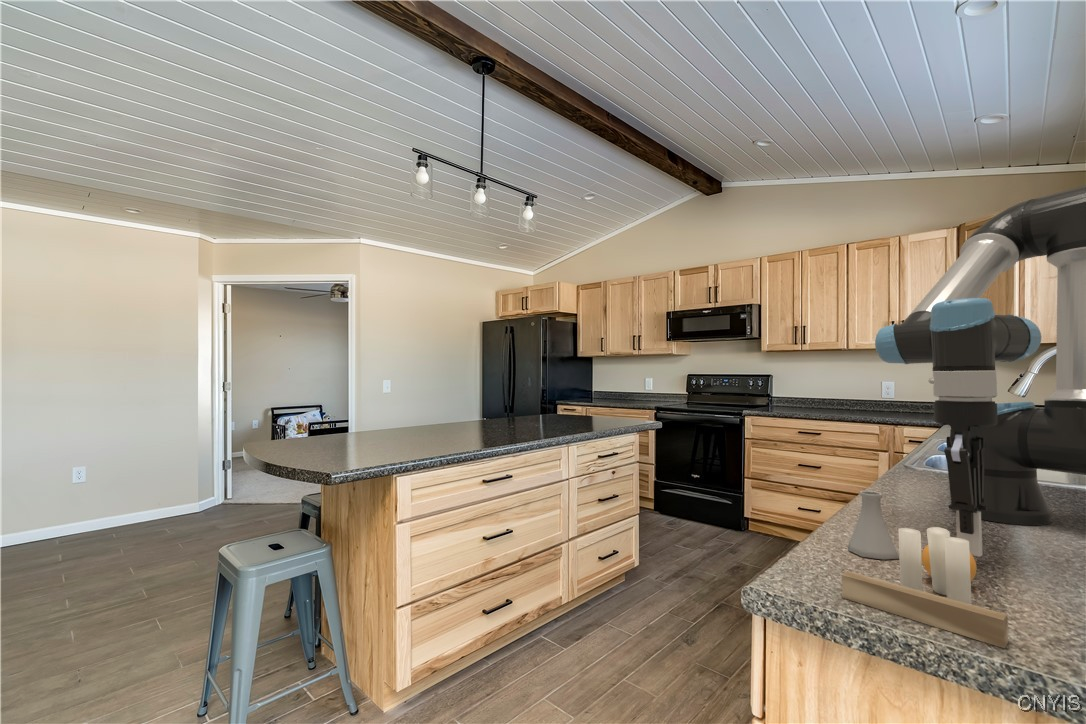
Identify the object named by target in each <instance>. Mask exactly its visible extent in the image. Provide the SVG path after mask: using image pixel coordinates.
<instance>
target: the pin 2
mask: <svg viewBox="0 0 1086 724" xmlns="http://www.w3.org/2000/svg"><path fill="white" fill-rule="evenodd" d="M945 565H946V592H947V595H946V598H949V599H952V600H956V601H960V602H963V603H967V604H971V605H972V583H971V581H972V580H971V578H970V552H969V541H967V540H965V539H961V538H957V536H955V537H954V536H950V537H945Z"/></svg>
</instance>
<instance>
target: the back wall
mask: <svg viewBox="0 0 1086 724" xmlns="http://www.w3.org/2000/svg"><path fill="white" fill-rule="evenodd" d="M841 591H842V593H841V594H842V595H841V598H842V599H846V600H848V601H852V602H854V603H859V604H861V605H865V606H867V607H871V608H873V609H878V610H879V611H880V610H881V611H883V612H887V613H890V614H893V615H897V616H900V617H903V618H906V619H910V620H913V621H916V622H919V623H922V624H924V625H925V624H926V625H928V626H932V627H935V628H938V629H941V630H945V631H949V632H951V633H954V634H957V635H960V636H962V637H963V636H964V637H968V638H970V639H974V640H977V641H980V642H983V643H987V644H989V645H992V646H996V647H999V648H1002V649H1006V647H1007V645H1008V644H1009V627H1008V626H1009V624H1008V622H1009V621H1008V619H1009V618H1008V614H1006V613H1003V612H999V611H996V610H992V609H988V608H986V607H985V608H984V607H981V606H977V605H974V604H972V603H971V604H967V603H963V602H960V601H956V600H952V599H949V598H947V597H944V596H940V595H939V594H938V595H937V594H933V593H930V592H927V591H919V590H916V589H912V588H908V587H905V586H901V585H900V584H897V583H894V582H891V581H885V580H883V579H882V580H881V579H878V578H874V577H871V576H868V575H864V574H861V573H857V572H852V571H849V570H847V571H845V572H844V573H842V574H841Z"/></svg>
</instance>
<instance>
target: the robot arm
mask: <svg viewBox="0 0 1086 724" xmlns="http://www.w3.org/2000/svg"><path fill="white" fill-rule="evenodd" d="M1044 256H1046V262H1047V263H1049V264H1051V265H1052V266H1053V267H1055V268H1057V275H1056V276H1057V277H1056V278H1057V279H1056V280H1057V281H1056V282H1057V283H1056V285H1057V287H1056V295H1057V297H1056V350H1055V351H1056V353H1055V354H1056V355H1055V356H1056V357H1055V361H1056V362H1055V364H1056V365H1055V367H1056V368H1055V391H1054V392H1053V393H1051V394H1050V395H1048V396H1047V397H1045V398H1044V401H1043V403H1044V407H1043V409H1040V408H1038V409H1037V408H1036V405H1035V403H1034V402H1033V401H1018V402H1016V401H1015V402H1004V403H1001V402H1000V403H996V401H994V400H993V398H997V396H998V385H997V384H998V383H997V371H996V362H1000V363H1003V362H1005V363H1006V362H1008V363H1009V362H1010V363H1012V362H1016V361H1020V360H1024V359H1027V358H1029V357H1030V356H1032V355H1033V354H1034V353H1036V352H1037V350H1038V349H1039V347H1040V346H1041V343H1042V333H1041V330H1040V328H1039V327H1038V325H1037V324H1036V323H1034V322H1033V321H1032V320H1030V319H1028V318H1027V317H1026V318H1025V317H1022V316H1018V315H1013V314H996V312H995V310H994V305H993V302H992V301H991V299H989V298H985V297H984V298H982V297H983V296H984V294H985V293H986V292H987V291H988V289H989V288H990V286H992V284H993V283H995V282H994V281H995V280H996V279H997V278H998V277H999V276H1000V274H1001V273H1005V272H1007V271H1008V270H1010V269H1012V268H1013V267H1014V266H1015V265H1016V264H1017V263H1018V262H1020V261H1025V260H1027V259H1032V258H1037V257H1044ZM874 341H875V343H874V346H875V351H876V353H877V354H878V356H879V357H878V358H880V359H881V360H882V361H884V362H885V363H888V364H904V365H911V364H912V365H913V364H927V363H928V364H931V363H932V377H929V379H928V383H929V384H930V385H931V384H932V385H933V387H932V388H933V390H932V391H933V396H934V397H936V398H938V399H936V400H934V402H933V420H934V423H935V424H937V425H943V426H949V427H950V430H949V431H950V432H949V433H950V434H949V436H946V439H945V440H946V446H945V447H944V448H943V452H944V455H945V460H946V466H947V474H948V484H949V493H950V504H949V505H948V509H949V510H953V512H955V522H956V523H955V524H956V528H955V529H956V538H961V539H965V540H967V541H969V552H970V553H971V554H972V556H973V557H974V556H975V557H982V556H983V533H982V520H984V521H990V522H996V523H1002V524H1012V525H1024V526H1025V525H1026V526H1028V525H1029V526H1039V525H1048V524H1051V523H1052V510H1051V508H1050V505H1049V503H1048V501H1047V498H1045V495H1044V493H1043V490H1042V489H1041V487H1040V484H1039V482H1038V472H1037V471H1038V470H1045V471H1052V472H1060V473H1067V474H1074V475H1083V476H1086V185H1082V186H1079V187H1078V186H1077V187H1075V188H1071V189H1068V190H1067V189H1066V190H1063V191H1059V192H1057V193H1052V194H1048V195H1045V196H1041V197H1040V196H1039V197H1037V198H1032V199H1028V200H1024V201H1021V202H1019V203H1017V204H1014V205H1012V206H1009V207H1008V208H1006V209H1004V210H1003V211H1001V212H999V213H997V214H996V215H994V216H993V217H992V218H990V219H989V220H987V221H986V222H984V223H983V224H982V225H980V227H979V228H977V229H976V230H975V231H974V232H972V234H971V235H970V236H969V237H968V238H967V239H966V240H965V241H964V243H963V244H962V245H961V247H960V250H959V257H957V259H955V260H954V262H953V263H952V265H951V266H950V267H949V268H948V269H947V270H946V271H945V273H944V274H943V275H942V277H940V278H939V280H938V281H937V282H936V283H935V285H934V286H933V287H932V288H931V289H930V290H929V291H928V293H927V294H926V295H925V297H923V299H922V300H921V301H920V302H919V303H918V304H917V305H916V307H915V308H914V309H913V310H912V311H911V313H910V314H909V315H908V316H907V317H906V318H905V319H904V321H903V322H902V323H899V324H898V323H893V324H891V325H885V326H883V327H881V328H880V329H879V330H878V331H877V334H876V336H875V339H874Z"/></svg>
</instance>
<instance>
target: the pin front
mask: <svg viewBox="0 0 1086 724" xmlns="http://www.w3.org/2000/svg"><path fill="white" fill-rule="evenodd" d="M926 535H927V536H926V537H927V545H928V548H929V558H930V567H931V585H932V586H931V587H932V590H933V591H934V593H936V594H938V595H942V596H947V592H946V565H945V537H951V533H950V531H949V530H948V529H947V528H944V527H939V526H932V527H928V528H926Z"/></svg>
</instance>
